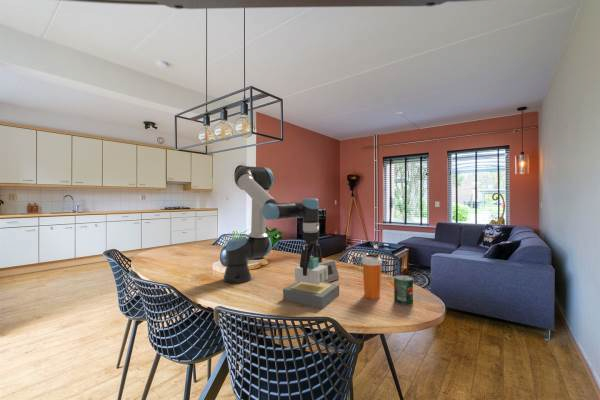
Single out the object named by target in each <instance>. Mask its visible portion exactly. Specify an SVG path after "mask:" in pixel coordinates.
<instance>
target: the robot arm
mask: <svg viewBox="0 0 600 400" xmlns="http://www.w3.org/2000/svg"><path fill="white" fill-rule="evenodd" d="M233 179H234V183H235V185H236V187H238V188H239V190H242V191H244V192H245V193H246V194H247V195H248V196H249V197H250V198H251V218H250V219H251V220H250V221H251V222H250V223H251V224H250V225H251V227H250V229H251V230H250V233H249V234H248V235H247V236H248V238H247V237H245V236H243V237H242V236H239V237H234V238H231V239H229V240H228V241H227V242H226V247H225V250H226V269H225V273H224V275H223V282H225V283H227V284H241V283H247V282H249V281H250V280H251V279H252V275H251V274H252V273H251V272H250V268H249V265H248V260H251V259H258V258H263V257H267V256H268V255H269V254H270V253H271V251H272V246H273V244H272V240H271V238H270V237H269V234H267V232H266V231H267V230H266V227H267V223H266V222H267V221H269V220H271V221H276V220H285V219H297V218H298V219H302V232H303V233H302V240H303V241H305V244H302V245H301V254H300V255H301V256H300V259H299V266H300V267H301V268H303V282H305V283H309V268H308V264H309V260H310V257H315V258H318V265H320V263H322V262H323V255H322V249H321V241H320V232H319V231H320V206H319V199H318V198H313V197H311V198H310V197H309V198H303V199H302V202H299V201H298V202H297V201H294V202H293V201H292V202H291V201H290V202H279V201H278V200H276V199H275V198H274V197H273V196H272V195H271V194H270V193H269V191H270V188H271V187H272V186H273V185H274V181H275V179H274V174H273V171H272V170H271V169H270V168H269V167H263V166H249V165H245V166H241V167H240V168H238V169H237V170H236V172H235V173H234V177H233Z"/></svg>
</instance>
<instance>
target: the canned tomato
mask: <svg viewBox="0 0 600 400" xmlns="http://www.w3.org/2000/svg"><path fill="white" fill-rule="evenodd" d="M393 284H394V285H393V287H394V288H393V293H394V294H393V295H394V296H393V298H394V299H393V302H394V303H395V304H397V305H399V306H403V307H404V306H406V307H407V306H412V305H413V304H414V278H413V276H410V275H405V274H397V275H394V276H393Z"/></svg>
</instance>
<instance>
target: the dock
mask: <svg viewBox="0 0 600 400" xmlns="http://www.w3.org/2000/svg"><path fill="white" fill-rule="evenodd" d="M339 296H340V284H337V283H332V282H330V283H327V282H320V284H319V285H316V284H310V283H305V282H299V281H295V282H294V283H292V284H290V285H288V286H286V287H284V288H282V300H283V301H287V302H291V303H295V304H299V305H303V306H308V307H313V308H317V309H320V310H323V309H324V308H326V306H328V305H329V304H331V302H333V301H334V300H335V299H336V298H338V297H339Z"/></svg>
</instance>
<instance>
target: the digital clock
mask: <svg viewBox="0 0 600 400" xmlns="http://www.w3.org/2000/svg"><path fill="white" fill-rule="evenodd" d="M320 265H324V266H328V279H327V280H326V279H324V281H323V282H327V283H332V282H335V281H337V280H339V278H340V275H339V270H338V267H337V263H336V261H335V260H334V259H331V260H326V261H322V262H320Z"/></svg>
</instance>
